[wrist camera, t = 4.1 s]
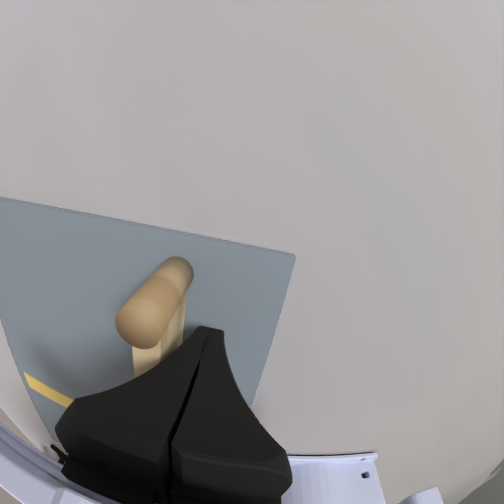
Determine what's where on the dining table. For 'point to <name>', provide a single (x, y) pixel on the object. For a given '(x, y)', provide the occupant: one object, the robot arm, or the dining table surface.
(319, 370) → the dining table surface
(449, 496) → the dining table surface
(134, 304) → the tan piece
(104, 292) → the board
